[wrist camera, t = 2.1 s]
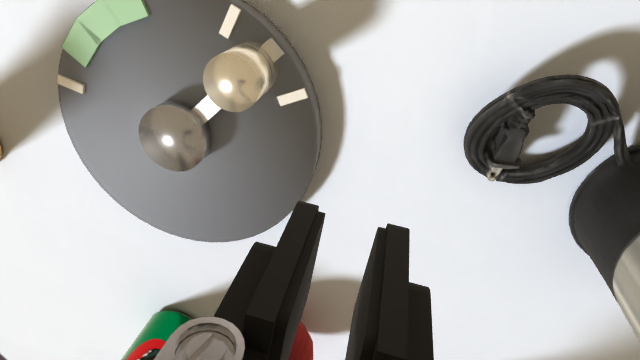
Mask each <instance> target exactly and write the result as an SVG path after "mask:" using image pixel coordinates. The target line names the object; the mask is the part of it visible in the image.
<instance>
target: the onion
mask: <svg viewBox="0 0 640 360" xmlns="http://www.w3.org/2000/svg"><path fill="white" fill-rule="evenodd" d="M288 360H313V341H312V339H311V337H310V335H309V333H308V331H307V329H306V327H305V326H304V325H303V324H302V323H301V322H300V323H299V326H298V329H297V332H296V336H295V339H294V342H293V345H292V349H291V352H290V355H289V358H288Z"/></svg>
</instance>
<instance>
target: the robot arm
mask: <svg viewBox="0 0 640 360" xmlns="http://www.w3.org/2000/svg"><path fill="white" fill-rule="evenodd" d="M318 209H319V206H317V205H314V204H310V203H306V202H302V201H298V202H297V204H296V206H295V208H294V210H293V213H292V215H291V217H290V219H289V221H288V223H287V225H286V228H285V230H284V232H283V234H282V236H281V238H280V240H279V243H278V245H277V247H274V246H271V245H267V244H263V243H259V242H255V243H254V245H253V246H252V248H251V249H250V251H249V253H248V255H247V257H246V259H245V260H244V262H243V264H242V266H241V268H240V269H239V271H238V273H237V275H236V277H235V279H234V280H233V282H232V284H231V286H230V288H229V289H228V291H227V293H226V295H225V297H224V299H223V300H222V302H221V304H220V306H219V308H218V309H217V311H216V313H215V315H214V317H199V318H196V319H193V320H189V321H187V322H186V323H184V324H182V325H181V326H179V327H178V328H177V329H176V330H175V331H174V332H173V333H172V334H171V336H170V337H169V339H168V340H167V341H166V343H165V344H164V346H163V347H162V349H161V350H160V351H159V353H158V354H157V355H154V356H151V357H149V358H146V359H143V360H288V358H289V355H290V352H291V349H292V345H293V342H294V339H295V336H296V332H297V329H298V326H299V323H300V319H301V316H302V313H303V310H304V307H305V303H306V300H307V296H308V292H309V288H310V283H311V279H312V274H313V269H314V265H315V260H316V255H317V251H318V246H319V241H320V237H321V232H322V228H323V223H324V218H325V213H322V212H318ZM345 360H434V357H433V336H432V315H431V295H430V289H429V287H425V286H422V285H418V284H414V283H410V282H409V229H408V228H404V227H400V226H396V225H392V224H387V226H386V229H385V228H381V227H378V229H377V232H376V236H375V239H374V242H373V246H372V249H371V253H370V256H369V259H368V263H367V266H366V269H365V273H364V276H363V280H362V283H361V286H360V290H359V293H358V297H357V300H356V304H355V308H354V312H353V317H352V323H351V329H350V335H349V341H348V347H347V353H346V359H345Z"/></svg>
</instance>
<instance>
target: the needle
mask: <svg viewBox="0 0 640 360" xmlns="http://www.w3.org/2000/svg"><path fill="white" fill-rule="evenodd" d="M283 54H284V52H283V51H282V50H281V48H280V47H279V46H278V45H277V43H276V42H275V41H274V40H273V39H272V38H270V39H268V40H267V41H266V42H265V43H264V44H262V43H260V42H257V41H245V42H242V43H240V44H238V45H236V46H234V47H232V48H231V49H229V50H227V51H225V52H223V53H221V54H219V55H217V56H215V57H214V58H212V59H211V60H210V61H209V62H208V63H207V65H206V67H205V69H204V73H203V84H204V88H205V91H206V93H207V96H206V97H205V98H204V99H203V100H202V101H201V102H200V103H198V104H197V105H196V106H195V107H192V106H191V105H189V104H187V103H184V102H181V101H174V100H172V101H165V102H163V103H161V104H159V105H157V106H155V107H154V108H152V109H150V110H149V111H147V112H146V113H145V114H144V115H143V117H142V118H141V121H140V123H139V139H140V142H141V145H142V147H143V149H144V150H145V152H146V153H147V155H148V156H149V157H150V158H151V159H152V160H153V161H154V162H155V163H157V164H158V165H160V166H161V167H163V168H165V169H168V170H171V171H177V172H183V171H188V170H190V169H192V168H194V167H195V166H197V165H198V164H199V163H200V162H201V161H202V160H203V159H204V158H205V157H206V156H207V154H208V153H209V151H210V149H211V146H212V133H211V129H210V127H209V125H208V123H207V121H208V120H209V119H210V118H211V117H213V116H214V115H215V114H216V113H217V112H218V111H219V110H221V109H223V110H226V111H229V112H241V111H244V110H246V109H248V108H250V107H251V106H252V105H253V104H254V103H255V102H256V101H257V100H258V99H259V98H260V97H262V96H263V95H264V94H265V93H266V92H267V91H268V90H269V89H270V88H271V87H272V86H273V85H274V84H275V82H276V80H277V78H278V72H279V67H278V62H277V60H278V59H279V58H280V57H281V56H282V55H283Z"/></svg>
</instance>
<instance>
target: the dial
mask: <svg viewBox="0 0 640 360" xmlns="http://www.w3.org/2000/svg"><path fill="white" fill-rule="evenodd" d="M270 38H272V39H273V40H274V41H275V42H276V43H277V45H278V46H279V47H280V48H281V50H282V51H283V52H284V54H283V55H282V56H281V57H280V58H279V59H278V60H277V62H278V67H279V72H278V78H277V80H276V82H275V84H274V85H273V86H272V87H271V88H270V89H269V90H268V91H267V92H266V93H265V94H264V95H263V96H262V97H260V98H259V99H258V100H257V101H256V102H255V103H254V104H253V105H252V106H251V107H250V108H248V109H246V110H244V111H241V112H229V111H226V110H223V109H221V110H219V111H218V112H217V113H216V114H215V115H214V116H213V117H211V118H210V119H209V120H208V121H207V123H208V125H209V127H210V129H211V133H212V146H211V149H210V151H209V153H208V154H207V156H206V157H205V158H204V159H203V160H202V161H201V162H200V163H199V164H198V165H197V166H195V167H194V168H192V169H190V170H188V171H183V172H177V171H171V170H168V169H165V168H163V167H161V166H160V165H158V164H157V163H155V162H154V161H153V160H152V159H151V158H150V157H149V156H148V155H147V153H146V152H145V150H144V149H143V147H142V145H141V142H140V139H139V123H140V121H141V118H142V117H143V115H144V114H145V113H146V112H147V111H149V110H150V109H152V108H154V107H155V106H157V105H159V104H161V103H163V102H165V101H172V100H174V101H181V102H184V103H187V104H189V105H191V106H192V107H195V106H196V105H197V104H198V103H200V102H201V101H202V100H203V99H204V98H205V97H206V96H207V93H206V91H205V88H204V84H203V73H204V69H205V67H206V65H207V63H208V62H209V61H210V60H211V59H212V58H214V57H215V56H217V55H219V54H221V53H223V52H225V51H227V50H229V49H231V48H232V47H234V46H236V45H238V44H240V43H242V42H245V41H257V42H260V43H262V44H264V43H265V42H266V41H267V40H268V39H270ZM62 48H63V50H62V54H61V59H60V64H59V75H57V84H58V89H59V101H60V106H61V111H62V116H63V119H64V122H65V126H66V129H67V132H68V134H69V137H70V139H71V141H72V143H73V146H74V148H75V150H76V151H77V153H78V155H79V157H80V159H81V160H82V162H83V164H84V165H85V166H86V168H87V169H88V171H89V172H90V174H91V175H92V176H93V178H94V179H95V180H96V181H97V182H98V183H99V185H100V186H101V187H102V188H103V189H104V190H105V191H106V192H107V193H108V194H109V195H110V196H111V197H112V198H113V199H114V200H115V201H116V202H117V203H119V204H120V205H121V206H122V207H124V208H125V209H126V210H127V211H129V212H130V213H132V214H133V215H135V216H136V217H138V218H139V219H141V220H142V221H144V222H146V223H148V224H150V225H151V226H153V227H155V228H158V229H160V230H162V231H165V232H167V233H170V234H173V235H176V236H179V237H182V238H186V239H191V240H196V241H205V242H229V241H236V240H242V239H245V238H249V237H253V236H255V235H257V234H260V233H262V232H264V231H266V230H268V229H270V228H271V227H273V226H275V225H276V224H278V223H279V222H280V221H281V220H282V219H284V218H285V217H286V216H287V215H288V214H289V213H290V212H291V211H292V210H293V209H294V207H295V206H296V204H297V202H298V201H300V199H301V198H302V196H303V194H304V193H305V191H306V189H307V187H308V184H309V182H310V180H311V178H312V175H313V173H314V171H315V168H316V165H317V161H318V157H319V154H320V146H321V117H320V110H319V104H318V100H317V97H316V93H315V90H314V86H313V84H312V81H311V79H310V77H309V74H308V72H307V70H306V68H305V66H304V64H303V62H302V61H301V59H300V57H299V56H298V54H297V52H296V50H295V49H294V48H293V47H292V45H291V44H290V43H289V41H288V40H287V39H286V37H285V36H284V35H283V34H282V33H281V32H280V30H279V29H278V28H277V27H276V26H275V25H274V24H273V23H272V22H271V21H270V20H269V19H268V18H266V17H265V16H264V15H263V14H261V13H260V12H259V11H258V10H256V9H255V8H254V7H253V6H251V5H249V4H248V3H246V2H244V1H243V0H96V1H95V2H94V3H93V4H92V5H91V6H89V7H88V8H87V9H86V10H85V11H84V12H83V13H82V14H81V15H80V16H79V17H78V18H77V19H76V21H75V23H74V24H73V26H72V28H71V30H70V32H69V34H68V36H67V38H66V40H65V42H64V44H63V45H62Z"/></svg>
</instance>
